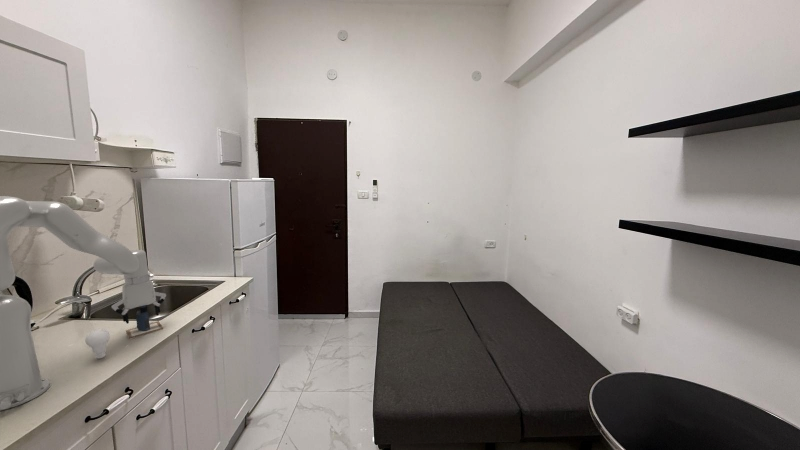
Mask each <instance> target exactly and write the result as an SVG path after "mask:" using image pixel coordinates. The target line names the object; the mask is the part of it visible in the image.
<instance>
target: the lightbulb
mask: <svg viewBox="0 0 800 450" xmlns="http://www.w3.org/2000/svg"><path fill="white" fill-rule="evenodd" d="M109 340H110V332H109V331H108V330H106V329H104V328H99V329H98V328H97V329H93V330H92V331H89V332H88V334H87V335H86V337H85V339H84V341H85V344H86V345H87V347H90V349H91V350H92V352H93V354H94V356H95V358H96V359H103V358H105V356H106V354H107V353H106V352H107V344H108V342H109Z"/></svg>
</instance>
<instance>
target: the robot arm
mask: <svg viewBox="0 0 800 450" xmlns="http://www.w3.org/2000/svg"><path fill="white" fill-rule="evenodd" d="M18 227H20V228H21V227H22V228H23V227H26V228H28V227H29V228H30V227H31V228H44V229H45V230H47V231H48V232H49V233H51V234H52V235H53V236H55V237H56V238H57V239H58V240H60V241H61V242H62V243H64V244H65V245H66V246H67V247H69V248H71V249H73V250H76V251H78V252H82V253H84V254H85V253H86V254H90V255H93V256H96V257H98V258H96V259H95V260H94V262H93V269H94V270H95V271H96V272H97V273H99V274H104V275H123V278H124V284H123V285H122V289H121V291H122V294H121V295H122V299H120V300H118V301H117V302H115V303H114V304H112V305H111V309H112V310H114V311H115V312H116V313H118V314H120V315H122V320H123V322H125V323H126V324H129V323H130V321H129V320H130V319H129V315H128V312H129V310H132V309H135V308H136V309H137V308H140V306H144V305H147V306H148V305H154V312H155V313H154V314H155V315H156V316H159V313H161V307H160V306H161V304H162V303H163V302H164V301H165V299H166V297H167V293H164V292H157V291H155V287H154V284H153V281H152V278H154V274H153V273H151V274H150V273H149V268H148V262H147V261H148V259H147V253H146V251H145V250H143V249H132V250H130V249H129V248H128V247H127V246H125V245H123V244H122V243H121V242H118V241H117V240H115V239H113V238H111V237H109V236H107V235H106V234H104V233H101V232H99V231H98V230H97V229H95V228H94V227H93V226H91V225H90V223H88V222H87V221H86V220H85V219H84V218H83V217H82V216H80V214H79V213H77V212H76V211H75V210H74V209H72V208H71V207H70V206H69V205H68V204H67V203H66V204H65V203H63V202H59V201H51V200H49V201H47V200H46V201H39V200H37V201H35V200H33V201H31V200H25V199H22V198H20V197H16V196H10V195H9V196H8V195H2V196H1V195H0V292H2V291H4V290H7V289H8V288H9V287H11V286H12V285H13V284H14V282H15V280H16V272H15V269H14V265H13V264H14V263H13V260H12V256H11V252H10V248H9V236H11V233H12V232H13V230H14V229H16V228H18ZM157 297H160V298H159V299H158V301H157ZM121 305H123V308H122V309H121V308H119V306H121ZM31 318H32V306H31V305H30V303H29V301H27V299H24V298H22V297H20V296H16V295H13V294H0V411H5V410H8V409H11V408H14V407H17V406H20V405H23V404H24V403H25V404H26V403H27V402H29V401H31V400H34V399H35V398H37V397H39V396H41V395H42V394H43V393H45V392H47V390H49V388H50V387H51V384H52V383H51V380H50V379H48V378H42V376H41V371H40V366H39V362H38V357H37V352H36V347H35V344H34V338H33V335H32V334H33V333H32V326H31V320H32V319H31Z"/></svg>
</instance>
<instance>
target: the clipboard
mask: <svg viewBox="0 0 800 450" xmlns="http://www.w3.org/2000/svg"><path fill="white" fill-rule="evenodd" d="M149 324H150V329H149V330H147V331H140V330H138V328H137V326H136V327H133V328H129V329H126V330H125V332H126V335H127V338H128V340H131V339H134V338H138V337H141V336H144V335H148V334H150V333H155V332H159V331H161V330H164V327H163V325H162V324H161V322H160V321H158V320H157V321H153V322H149ZM160 329H161V330H160Z"/></svg>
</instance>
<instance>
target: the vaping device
mask: <svg viewBox="0 0 800 450" xmlns="http://www.w3.org/2000/svg"><path fill="white" fill-rule="evenodd" d="M148 310H149V309H148V305H144V306H140V307H139V310H136V314H135V321H136V327H137V328H138V330H140V331H147V330H149V329H150V317H149V313H148Z"/></svg>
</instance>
